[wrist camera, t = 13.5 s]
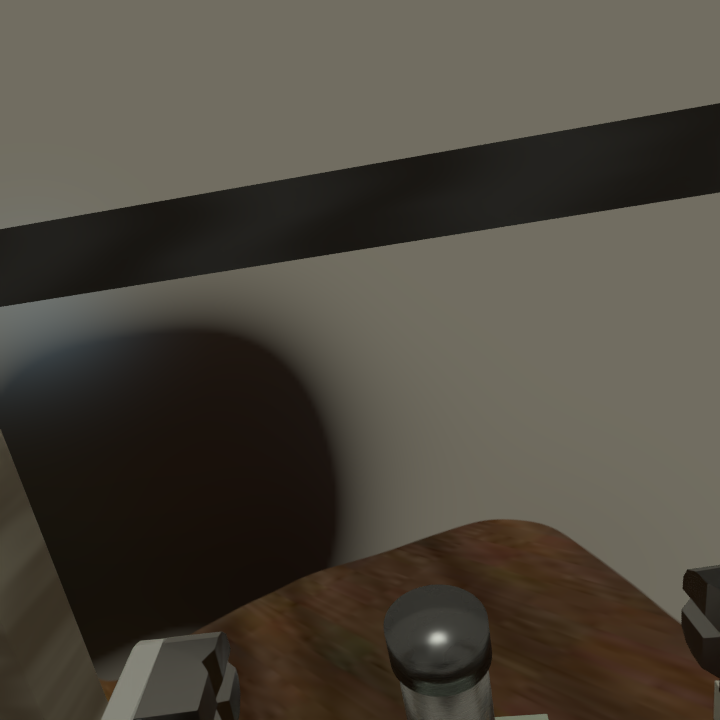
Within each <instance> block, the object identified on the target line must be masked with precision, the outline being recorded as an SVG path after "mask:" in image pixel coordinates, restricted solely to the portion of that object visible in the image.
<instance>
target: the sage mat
mask: <svg viewBox="0 0 720 720" xmlns="http://www.w3.org/2000/svg"><path fill="white" fill-rule="evenodd" d="M495 720H548V716H547V714H539V715H524V716H509V717H495Z"/></svg>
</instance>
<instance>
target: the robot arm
mask: <svg viewBox="0 0 720 720" xmlns="http://www.w3.org/2000/svg"><path fill="white" fill-rule="evenodd" d="M683 590H684V591H685V592H686V593H687V595H688V596H689V597H690V600H689V601H688V602H687V603H686V605H685V606H684V607H683V608H682V629H683V633H684V636H685V640H686V643H687V645H688V647H689V649H690V651H691V653H692V655H693V656H694V658H695V659H696V661H697V662H698V663H699V665H700V666H701V668H703V669H704V670H706V671H708V672H709V673H711V674H713V675H715V676H716V677H718V678H720V565H716V566H709V567H702V568H695V569H688V570H687V571H686V573H685V575H684V577H683ZM229 653H230V645H229V642H228V639H227V636H226V634H225V633H223V632H214V633H205V634H196V635H186V636H177V637H168V638H167V639H155V640H146V641H140V642H139V643H138V644H136V645H135V646H134V648H133V649H132V651H131V654H130V656H129V658H128V660H127V662H126V665H125V667H124V669H123V671H122V674H121V676H120V678H119V680H118V682H117V685H116V687H115V689H114V691H113V694H112V696H111V698H110V700H109V703H108V705H107V707H106V709H105V711H104V714H103V716H102V718H101V720H238V718H239V713H240V688H239V679H238V675H237V671H236V668H235V667H233V666H232V665H231V664H230V663H228V657H229ZM719 692H720V681H719Z"/></svg>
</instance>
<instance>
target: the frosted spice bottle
mask: <svg viewBox="0 0 720 720" xmlns="http://www.w3.org/2000/svg"><path fill="white" fill-rule="evenodd" d="M384 633H385V638H386V643H387V648H388V653H389V658H390V663H391V667H392V670H393V672H394V674H395V676H396V677H397V678H398V680H399V681H400V684H401V689H402V695H403V700H404V705H405V710H406V715H407V720H495V716H494V709H493V701H492V694H491V686H490V678H489V671H488V670H489V667H490V665H491V660H492V648H491V640H490V632H489V624H488V616H487V613H486V610H485V608H484V606H483V605H482V603H481V602H480V601H479V600H478V599H477V598H476V597H475V596H474V595H472V594H471V593H469V592H468V591H465V590H463V589H461V588H458V587H454V586H449V585H429V586H423V587H419V588H416V589H413V590H411V591H409V592H407V593H405V594H404V595H402V596H401V597H399V598H398V599H397V600H396V601H395V602H394V603H393V604H392V605H391V607H390V608H389V610H388V612H387V614H386V616H385V620H384Z"/></svg>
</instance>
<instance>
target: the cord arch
mask: <svg viewBox="0 0 720 720" xmlns="http://www.w3.org/2000/svg"><path fill="white" fill-rule="evenodd" d="M718 192H720V103H719V104H713V105H707V106H702V107H696V108H690V109H684V110H678V111H673V112H667V113H662V114H656V115H650V116H644V117H638V118H633V119H627V120H621V121H616V122H610V123H604V124H599V125H593V126H587V127H581V128H576V129H570V130H564V131H559V132H553V133H547V134H542V135H536V136H530V137H524V138H519V139H513V140H507V141H502V142H496V143H490V144H484V145H479V146H473V147H467V148H462V149H456V150H451V151H445V152H439V153H433V154H427V155H422V156H417V157H411V158H405V159H399V160H393V161H388V162H382V163H376V164H370V165H365V166H359V167H353V168H348V169H342V170H336V171H331V172H325V173H320V174H313V175H308V176H302V177H296V178H291V179H285V180H279V181H274V182H268V183H262V184H256V185H251V186H245V187H239V188H234V189H228V190H222V191H216V192H211V193H206V194H199V195H194V196H188V197H182V198H176V199H171V200H165V201H159V202H154V203H148V204H143V205H136V206H131V207H125V208H120V209H114V210H108V211H102V212H97V213H91V214H85V215H79V216H74V217H68V218H62V219H57V220H51V221H45V222H40V223H34V224H29V225H22V226H17V227H11V228H5V229H0V307H2V306H9V305H15V304H21V303H27V302H34V301H40V300H46V299H53V298H59V297H65V296H71V295H77V294H83V293H90V292H96V291H102V290H108V289H115V288H122V287H128V286H134V285H140V284H147V283H153V282H159V281H166V280H172V279H178V278H184V277H191V276H197V275H203V274H209V273H216V272H222V271H228V270H235V269H240V268H247V267H253V266H260V265H266V264H272V263H278V262H285V261H291V260H297V259H304V258H310V257H316V256H322V255H329V254H335V253H342V252H348V251H353V250H360V249H367V248H373V247H379V246H386V245H392V244H398V243H404V242H411V241H417V240H423V239H429V238H436V237H442V236H448V235H455V234H461V233H467V232H473V231H480V230H486V229H492V228H498V227H504V226H511V225H517V224H524V223H530V222H536V221H542V220H548V219H555V218H561V217H568V216H573V215H580V214H587V213H593V212H599V211H605V210H612V209H618V208H624V207H630V206H637V205H643V204H649V203H655V202H661V201H668V200H674V199H681V198H687V197H693V196H700V195H705V194H712V193H718ZM107 705H108V702H107V699H106V697H105V694H104V692H103V689H102V687H101V684H100V681H99V679H98V676H97V674H96V672H95V669H94V666H93V664H92V661H91V659H90V656H89V654H88V651H87V648H86V646H85V643H84V641H83V638H82V636H81V633H80V631H79V628H78V626H77V623H76V620H75V618H74V615H73V613H72V610H71V608H70V605H69V603H68V600H67V598H66V595H65V592H64V590H63V587H62V585H61V582H60V580H59V577H58V575H57V572H56V570H55V567H54V565H53V562H52V559H51V557H50V554H49V552H48V549H47V547H46V544H45V542H44V539H43V536H42V534H41V531H40V529H39V526H38V524H37V521H36V519H35V516H34V514H33V511H32V508H31V506H30V503H29V501H28V498H27V496H26V493H25V491H24V488H23V486H22V483H21V480H20V478H19V475H18V473H17V470H16V468H15V465H14V463H13V460H12V458H11V455H10V452H9V450H8V447H7V445H6V442H5V440H4V437H3V435H2V432H1V430H0V720H101V718H102V716H103V714H104V711H105V709H106V707H107Z"/></svg>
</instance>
